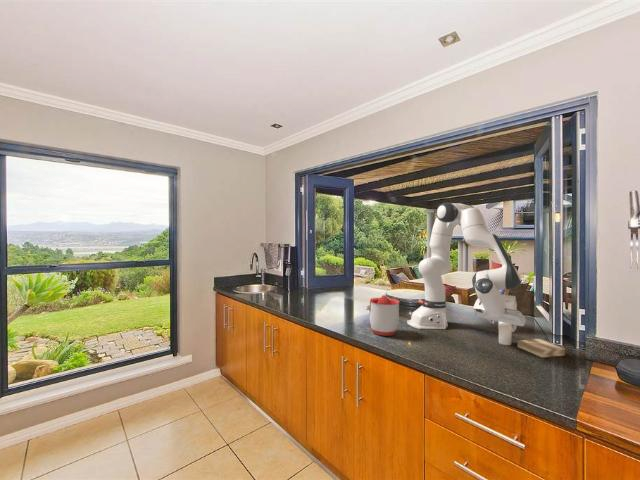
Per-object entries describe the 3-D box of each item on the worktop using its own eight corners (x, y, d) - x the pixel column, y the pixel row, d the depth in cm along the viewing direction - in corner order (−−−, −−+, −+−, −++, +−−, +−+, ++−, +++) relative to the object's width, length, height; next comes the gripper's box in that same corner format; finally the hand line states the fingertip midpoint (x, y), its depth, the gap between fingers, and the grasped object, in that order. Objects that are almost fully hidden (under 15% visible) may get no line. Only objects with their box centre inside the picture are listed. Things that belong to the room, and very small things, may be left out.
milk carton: (501, 326, 164) (502, 293, 164) (516, 329, 159) (517, 295, 159) (498, 329, 159) (498, 295, 159) (513, 332, 154) (513, 297, 154)
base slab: (542, 357, 123) (542, 350, 123) (517, 346, 134) (517, 340, 134) (564, 355, 125) (565, 348, 125) (538, 345, 137) (538, 338, 137)
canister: (504, 345, 136) (505, 318, 135) (495, 341, 141) (495, 314, 141) (514, 344, 137) (515, 317, 137) (505, 340, 142) (505, 314, 142)
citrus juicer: (366, 326, 162) (366, 291, 162) (398, 329, 159) (398, 292, 159) (364, 336, 147) (365, 297, 147) (400, 339, 144) (400, 298, 143)
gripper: (523, 305, 124) (531, 324, 130) (474, 297, 140) (483, 314, 146) (519, 317, 121) (527, 336, 127) (469, 308, 138) (478, 324, 144)
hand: (503, 324), depth 137 cm, fingers open, 8 cm apart
